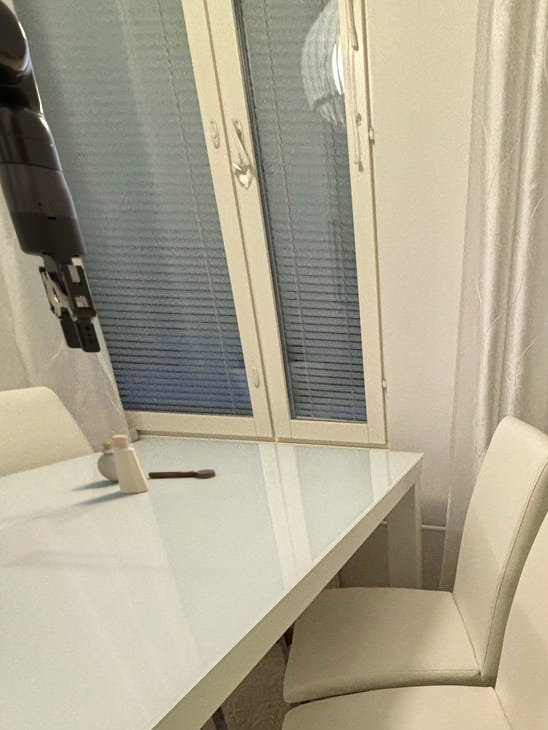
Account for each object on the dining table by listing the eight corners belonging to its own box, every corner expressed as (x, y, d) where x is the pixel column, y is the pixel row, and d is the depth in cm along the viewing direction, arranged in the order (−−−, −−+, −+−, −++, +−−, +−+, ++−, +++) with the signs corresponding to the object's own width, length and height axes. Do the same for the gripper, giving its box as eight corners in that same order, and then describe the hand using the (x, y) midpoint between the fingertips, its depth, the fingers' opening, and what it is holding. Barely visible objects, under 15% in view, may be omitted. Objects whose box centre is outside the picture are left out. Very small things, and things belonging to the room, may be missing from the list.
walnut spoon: (146, 480, 123) (145, 474, 122) (151, 475, 126) (149, 470, 126) (214, 477, 126) (213, 472, 125) (216, 473, 129) (215, 468, 129)
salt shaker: (130, 486, 118) (114, 433, 113) (154, 487, 118) (139, 433, 112) (114, 493, 113) (97, 438, 108) (140, 494, 113) (124, 438, 108)
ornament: (99, 485, 118) (83, 436, 113) (107, 476, 125) (92, 430, 119) (130, 483, 120) (116, 435, 115) (137, 475, 126) (124, 429, 121)
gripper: (-1, 213, 75) (43, 347, 83) (19, 204, 66) (66, 354, 75) (63, 221, 79) (99, 347, 88) (90, 213, 71) (127, 353, 79)
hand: (84, 350), depth 81 cm, fingers open, 8 cm apart
